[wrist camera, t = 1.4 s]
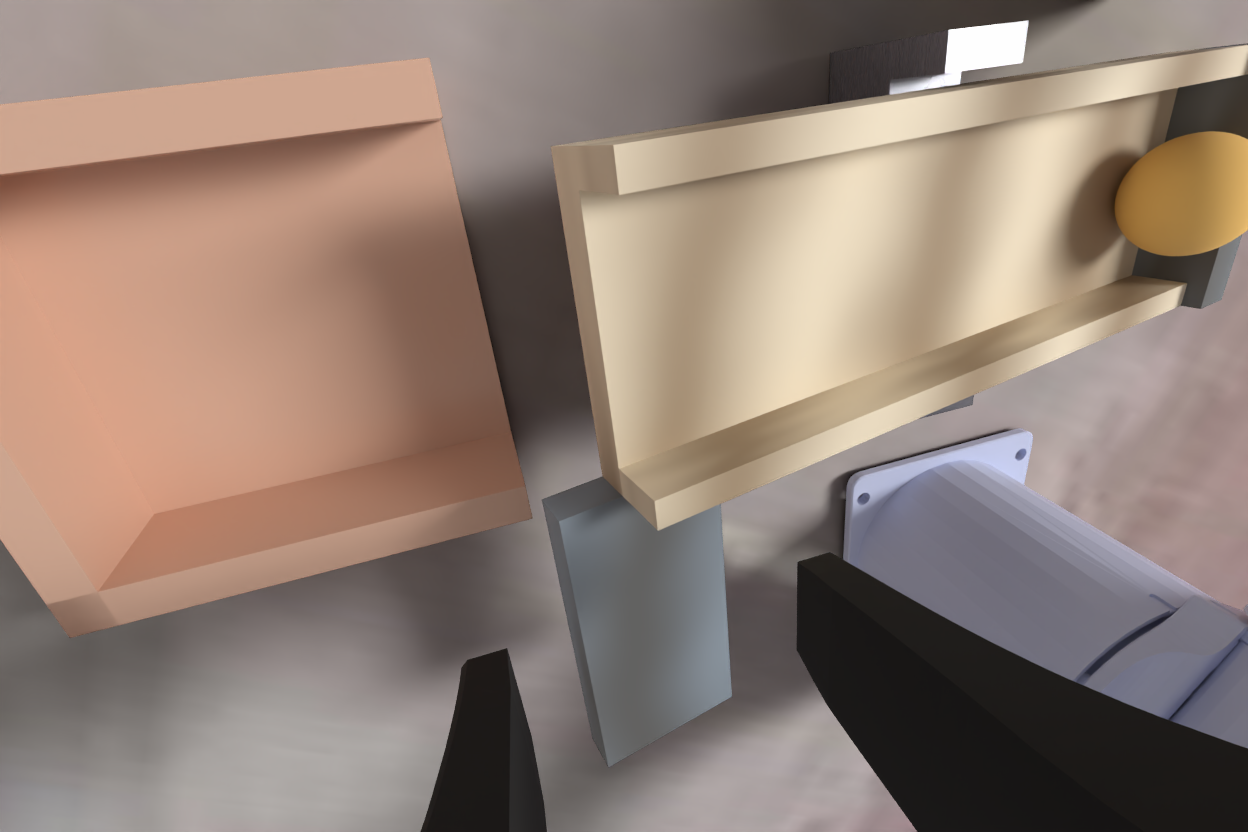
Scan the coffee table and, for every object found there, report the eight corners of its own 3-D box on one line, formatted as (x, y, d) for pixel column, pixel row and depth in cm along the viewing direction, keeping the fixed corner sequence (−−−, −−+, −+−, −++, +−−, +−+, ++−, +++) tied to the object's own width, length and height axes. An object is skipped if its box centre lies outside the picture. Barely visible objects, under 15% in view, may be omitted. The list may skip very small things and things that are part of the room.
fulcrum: (874, 355, 21) (972, 404, 17) (821, 367, 21) (910, 421, 17) (895, 45, 17) (1028, 20, 13) (830, 53, 17) (949, 29, 13)
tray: (516, 456, 19) (532, 518, 16) (135, 547, 17) (70, 638, 14) (429, 73, 14) (429, 57, 11) (-108, 134, 12) (-284, 135, 9)
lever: (1168, 52, 19) (1305, 37, 16) (1068, 476, 25) (1153, 511, 23) (468, 158, 11) (529, 160, 8) (592, 738, 17) (645, 835, 15)
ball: (1127, 238, 20) (1265, 247, 17) (1084, 261, 18) (1230, 275, 16) (1153, 127, 18) (1309, 120, 16) (1109, 142, 17) (1274, 136, 14)
